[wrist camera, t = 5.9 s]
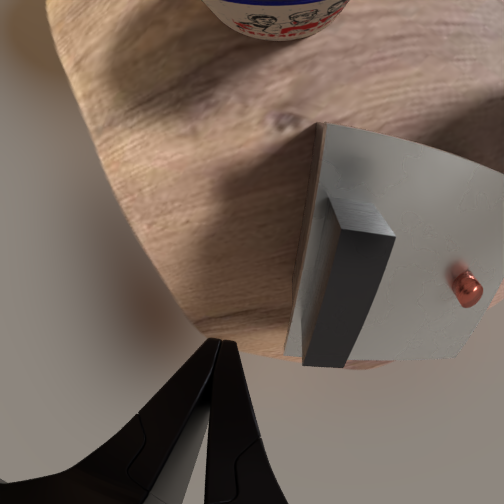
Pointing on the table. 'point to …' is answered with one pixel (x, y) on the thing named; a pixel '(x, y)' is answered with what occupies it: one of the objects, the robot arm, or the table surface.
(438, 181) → the box lid
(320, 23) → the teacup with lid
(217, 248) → the table surface
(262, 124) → the table surface
